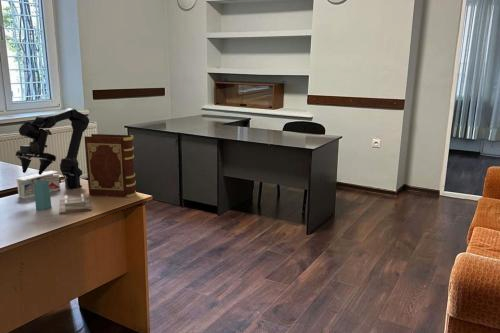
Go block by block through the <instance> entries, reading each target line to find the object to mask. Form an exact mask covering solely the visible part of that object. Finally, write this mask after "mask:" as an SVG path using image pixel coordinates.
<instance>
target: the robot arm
mask: <svg viewBox="0 0 500 333" xmlns="http://www.w3.org/2000/svg"><path fill="white" fill-rule="evenodd" d="M64 120H69V121H70V123H71V128H72V134H71V138H70V142H69V145H68V150H67V155H66V156H65V157H64V158H61V159H60V164H59V170H60V173H61V174H62V176H63V177H65V178H64V185H65V186H64V187H65V188H67V189H70V190H72V189H77V188H82V187H83V185H82V184H81V176H82V175H83V170H82V169H81V168H80V167H79V161H78V154H79V150H80V147H81V146H80V145H81V142H82V137H83V133H84V132H85V131H86V130H87V129H88V127H89V123H90V119H89V117H88V116H87V115H85V114H84V113H81V112H80V111H78V110H77V109H75V108H72V107H71V108H65V109H63V110H60V111H58V112H55V113H52V114H44V115H37V116H36V117H35V119H34V120H33V121H31V122H30V121H25V120H24V123H23V124H21V125H20V127H19V128H18V132H19V135H20V136H22V137H25V138H27V139H28V138H29V139H32V141H29V144H25V145H24V144H22V145H19V150H17V151H16V153H15V156H16V157H17V158H18V159H19V160H20V163H21V169H22V173H24V174H26V172H27V171H28V168H29V166H30V164H31V162H32V158H34V159H35V158H36V159H38V160H39V162H40V163H39V167H38V168H39V169H38V174H39V175H41V174H42V173H43V172H45V170H46V169H47V168H49V166H50V165H51V164H53V163H54V162H56V160H57V156H56V155H55V154H53V153H49V152H45V149H46V148H48V145H47V140H48V138H49V137H48V136H52V135H53V134H52V132H51V130H50V129H52V128H53V127H54V126H56V124H57V123H58V122H61V121H64Z"/></svg>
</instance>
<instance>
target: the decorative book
mask: <svg viewBox="0 0 500 333" xmlns="http://www.w3.org/2000/svg"><path fill="white" fill-rule="evenodd" d="M90 135H91V136H88V135H87V136H86V135H85V136H84V149H85V150H84V151H85V162H86V173H87V183H88V184H87V186H88V194H89V197H91V196H95V197H114V198H115V197H116V198H133V197H134V196H136V195H137V191H136V185H137V184H136V182H137V181H136V179H135V178H136V173H135V165H134V164H135V163H134V162H135V160H134V158H135V155H134V148H135V147H134V143H133V140H134V135H132V134H128V135H127V134H104V133H102V134H101V133H91V134H90Z"/></svg>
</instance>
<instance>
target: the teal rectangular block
mask: <svg viewBox="0 0 500 333" xmlns="http://www.w3.org/2000/svg"><path fill="white" fill-rule="evenodd" d="M33 187H34V195H35V196H34V202H35V203H34V204H35V209H36V210H35V211H46V210H48V209H49V208H50V207H51V206H52V200H51V192H50V189H49V181H38V182H36V183H35V184H33Z"/></svg>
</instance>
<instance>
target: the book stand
mask: <svg viewBox="0 0 500 333" xmlns="http://www.w3.org/2000/svg"><path fill="white" fill-rule="evenodd" d="M58 207H59V208H58V209H59V210H58V213H59V215H67V214H75V213H83V212H91V211H92V207H91V201H90V196H84V193H80V197H74V198H68V194H67V195H64V199H59V206H58Z"/></svg>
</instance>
